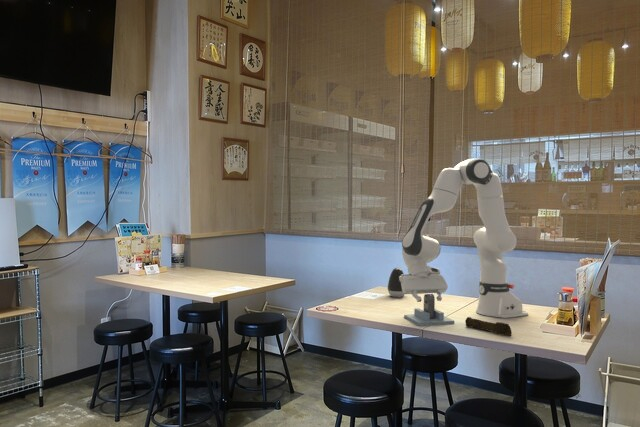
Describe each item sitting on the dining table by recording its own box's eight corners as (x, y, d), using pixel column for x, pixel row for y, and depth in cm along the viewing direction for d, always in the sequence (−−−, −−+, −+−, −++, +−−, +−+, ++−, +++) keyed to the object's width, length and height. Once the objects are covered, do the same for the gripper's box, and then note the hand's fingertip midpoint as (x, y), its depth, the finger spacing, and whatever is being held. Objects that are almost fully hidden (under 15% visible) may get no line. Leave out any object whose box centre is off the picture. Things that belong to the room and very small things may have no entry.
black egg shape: (404, 294, 258) (404, 266, 258) (408, 298, 248) (409, 269, 248) (385, 294, 258) (385, 266, 257) (389, 298, 247) (390, 269, 247)
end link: (429, 316, 204) (430, 293, 203) (434, 318, 200) (434, 294, 200) (423, 316, 203) (423, 293, 203) (427, 319, 199) (428, 295, 199)
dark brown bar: (464, 327, 192) (464, 315, 192) (470, 325, 195) (470, 314, 194) (507, 338, 177) (507, 326, 177) (513, 336, 179) (513, 324, 179)
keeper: (437, 315, 210) (437, 306, 210) (454, 323, 197) (454, 313, 197) (404, 317, 206) (404, 307, 206) (418, 325, 193) (419, 315, 193)
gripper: (400, 270, 205) (409, 297, 196) (442, 269, 210) (454, 295, 201) (395, 279, 209) (404, 305, 200) (437, 277, 215) (448, 303, 205)
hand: (429, 300), depth 201 cm, fingers open, 8 cm apart
